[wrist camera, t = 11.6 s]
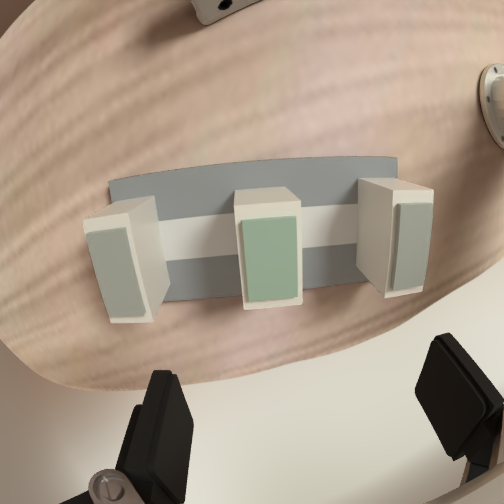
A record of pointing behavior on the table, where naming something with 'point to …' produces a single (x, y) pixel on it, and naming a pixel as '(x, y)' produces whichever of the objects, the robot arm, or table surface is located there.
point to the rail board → (224, 228)
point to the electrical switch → (217, 8)
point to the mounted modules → (155, 269)
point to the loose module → (269, 246)
